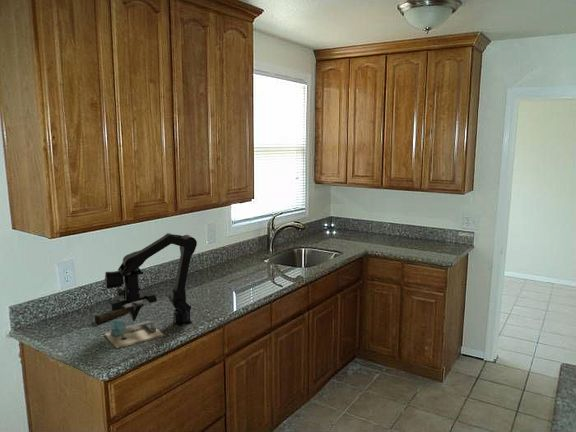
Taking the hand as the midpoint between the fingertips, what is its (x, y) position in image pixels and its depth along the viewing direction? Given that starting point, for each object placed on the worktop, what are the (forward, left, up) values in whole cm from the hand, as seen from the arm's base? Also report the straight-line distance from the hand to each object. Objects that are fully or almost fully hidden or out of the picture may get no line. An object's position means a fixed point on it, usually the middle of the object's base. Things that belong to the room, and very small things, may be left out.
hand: (133, 320), depth 191 cm
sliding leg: (+7, +2, -4) cm, 8 cm away
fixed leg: (-6, +4, -4) cm, 8 cm away
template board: (+1, +4, -5) cm, 7 cm away
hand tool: (+2, -21, -6) cm, 22 cm away
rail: (+1, 0, -5) cm, 5 cm away
